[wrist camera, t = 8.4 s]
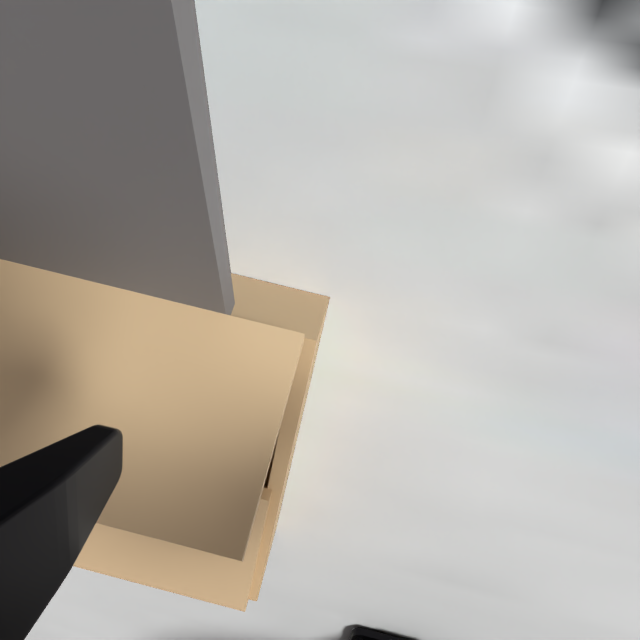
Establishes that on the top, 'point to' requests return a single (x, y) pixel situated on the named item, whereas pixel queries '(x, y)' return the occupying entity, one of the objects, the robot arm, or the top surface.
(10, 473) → the robot arm
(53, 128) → the carton flap
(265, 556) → the carton
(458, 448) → the top surface
